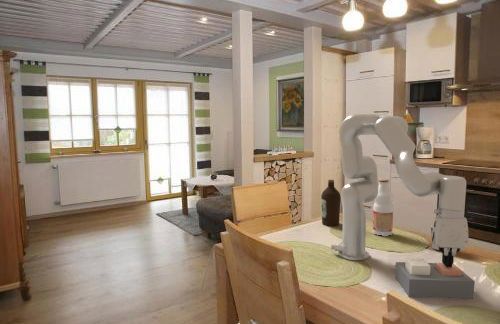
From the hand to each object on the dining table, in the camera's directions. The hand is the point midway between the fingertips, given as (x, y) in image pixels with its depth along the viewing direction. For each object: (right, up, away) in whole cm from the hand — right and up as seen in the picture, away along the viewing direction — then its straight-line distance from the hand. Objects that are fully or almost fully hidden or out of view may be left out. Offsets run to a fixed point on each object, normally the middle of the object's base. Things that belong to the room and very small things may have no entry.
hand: (447, 265), depth 118 cm
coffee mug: (+18, -4, +35) cm, 39 cm away
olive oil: (-22, 0, +77) cm, 80 cm away
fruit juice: (0, -2, +59) cm, 59 cm away
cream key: (-10, -4, +1) cm, 10 cm away
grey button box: (-5, -8, +1) cm, 9 cm away
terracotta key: (0, -5, 0) cm, 5 cm away
